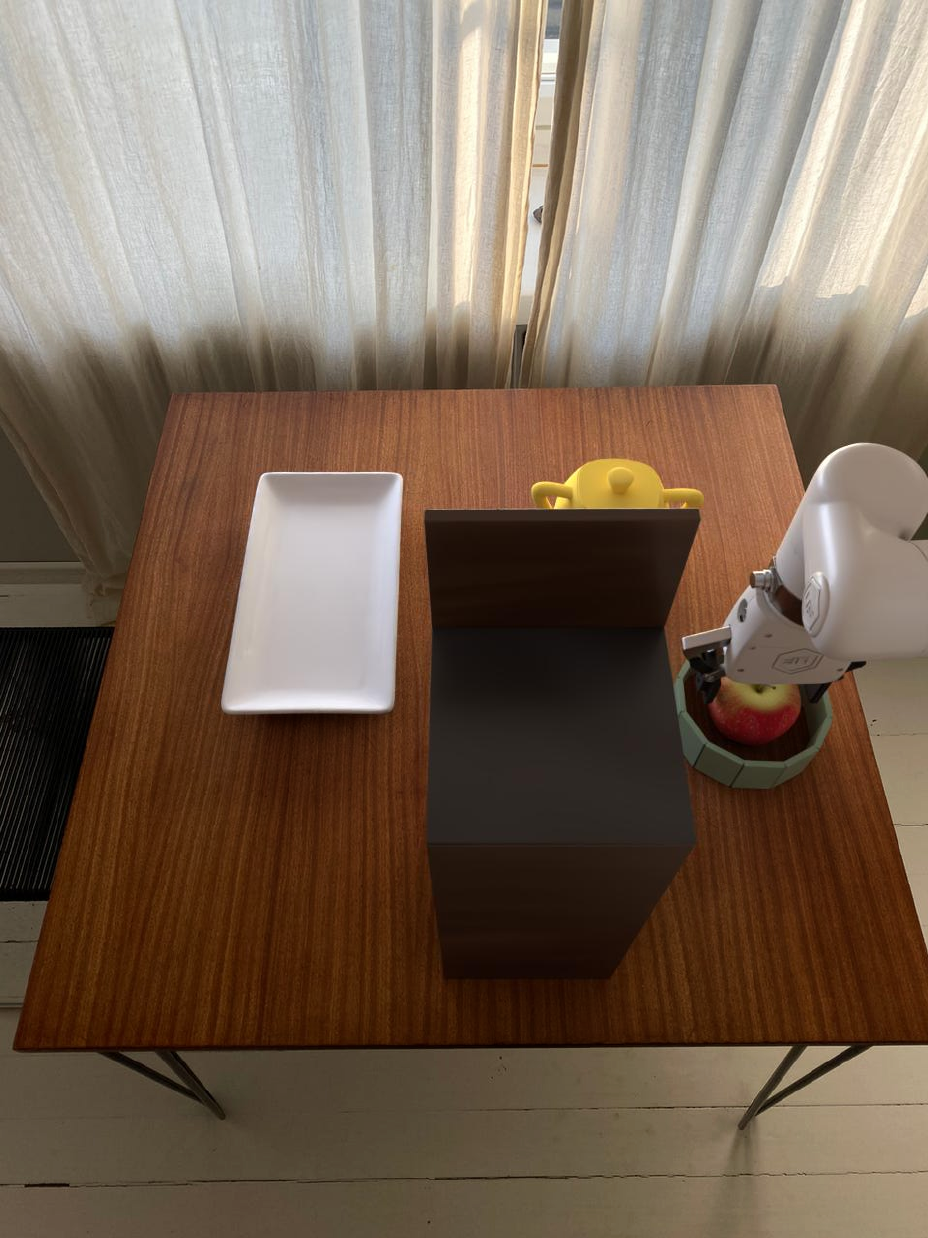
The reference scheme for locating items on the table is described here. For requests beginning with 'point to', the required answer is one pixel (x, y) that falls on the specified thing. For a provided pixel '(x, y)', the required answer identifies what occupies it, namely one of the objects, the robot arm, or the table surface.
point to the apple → (754, 710)
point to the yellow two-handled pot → (613, 488)
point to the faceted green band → (743, 771)
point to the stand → (552, 735)
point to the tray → (318, 596)
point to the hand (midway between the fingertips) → (757, 689)
